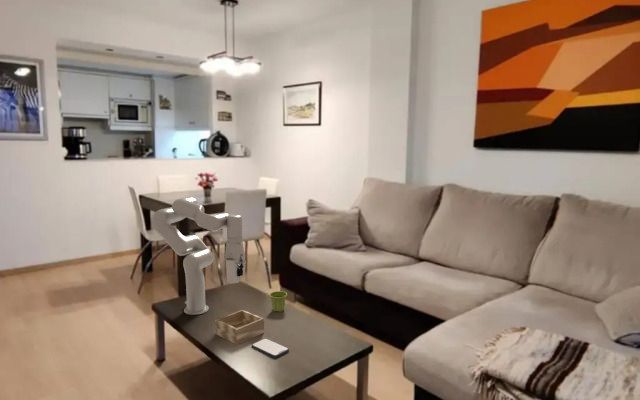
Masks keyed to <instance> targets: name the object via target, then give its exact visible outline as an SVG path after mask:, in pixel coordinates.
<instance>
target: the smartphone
mask: <svg viewBox="0 0 640 400" xmlns="http://www.w3.org/2000/svg"><path fill="white" fill-rule="evenodd" d="M251 348H253V349H255V350H257V351H258V352H260V353H263V354H264V355H266V356H268V357H270V358H272V359H278V358H280V357H281V356H284V355H286V354H287V353H289V351H290V349H289V347H287V346H284V345H281V344H279V343H278V342H275V341H273V340H270V339H269V338H263V339H261V340H259V341H258V340H257V342H254V343H252V344H251Z"/></svg>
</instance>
